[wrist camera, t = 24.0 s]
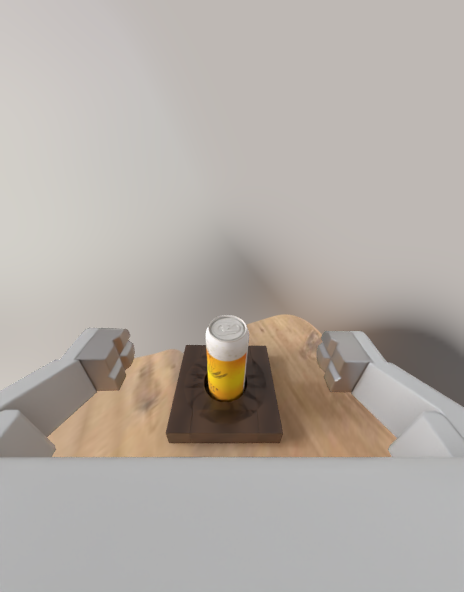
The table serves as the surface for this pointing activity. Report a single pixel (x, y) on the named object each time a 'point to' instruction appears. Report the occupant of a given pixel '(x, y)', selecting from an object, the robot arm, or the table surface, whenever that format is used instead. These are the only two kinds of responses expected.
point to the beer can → (226, 357)
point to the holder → (224, 404)
